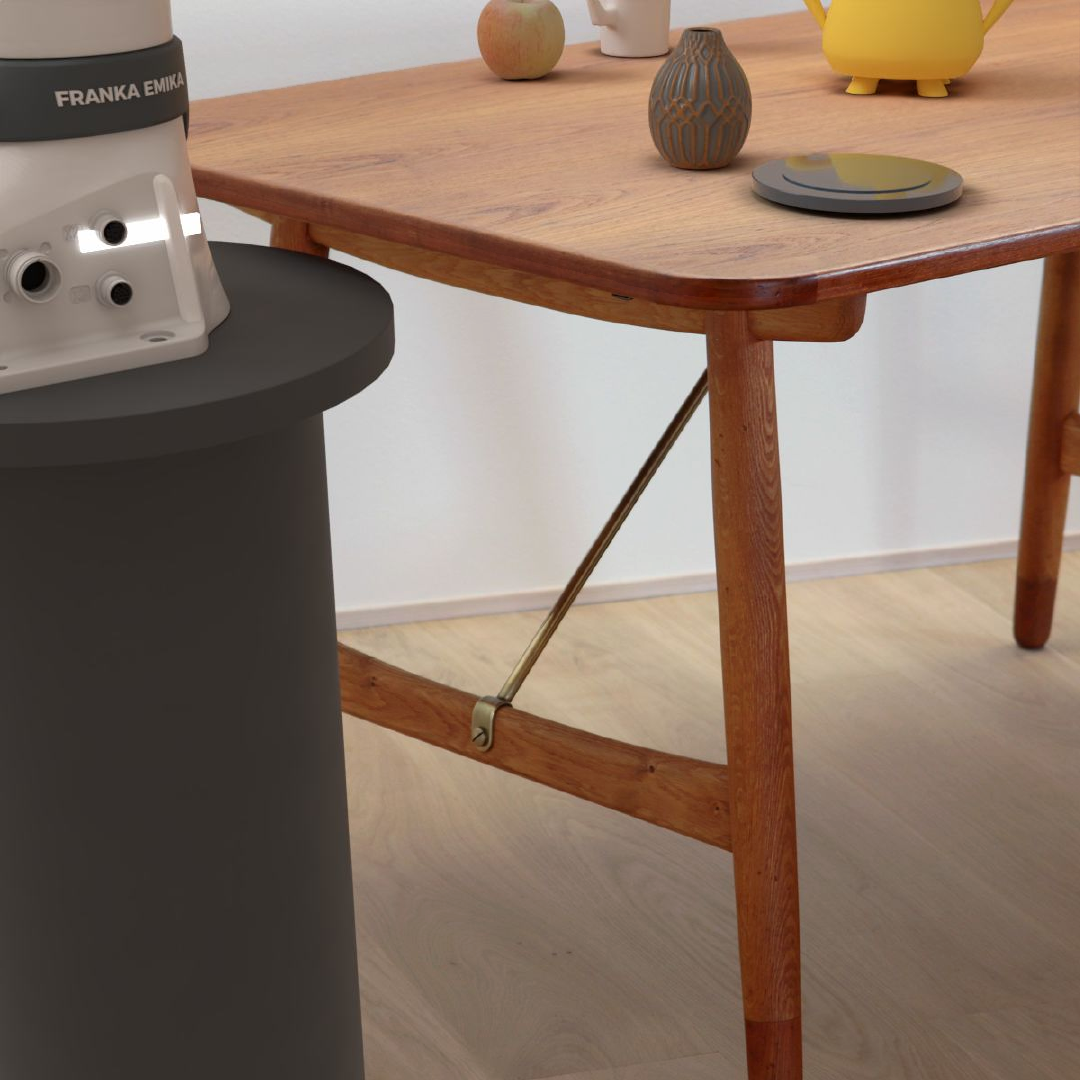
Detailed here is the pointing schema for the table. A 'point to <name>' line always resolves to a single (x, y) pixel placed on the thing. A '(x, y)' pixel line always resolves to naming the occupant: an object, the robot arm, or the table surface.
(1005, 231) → the table surface
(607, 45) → the mug
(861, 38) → the teapot
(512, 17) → the fruit
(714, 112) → the vase
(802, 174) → the plate
